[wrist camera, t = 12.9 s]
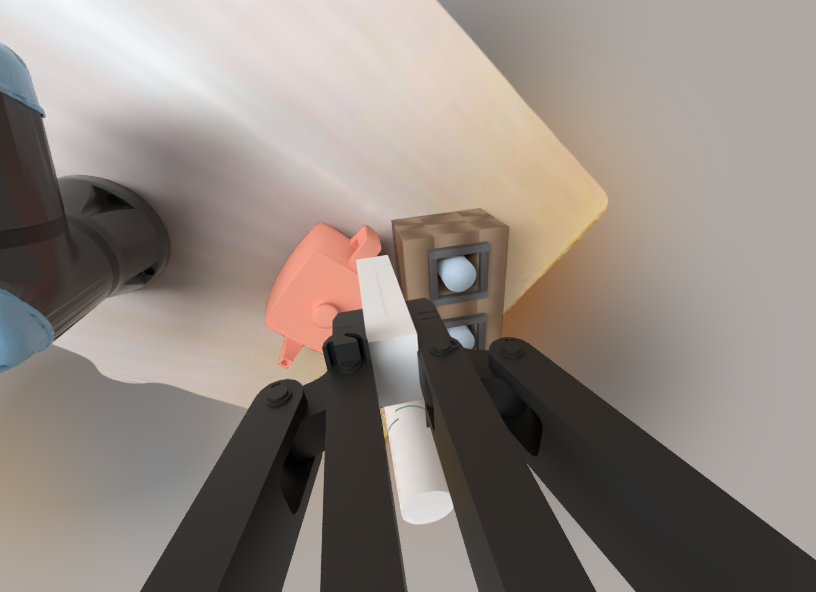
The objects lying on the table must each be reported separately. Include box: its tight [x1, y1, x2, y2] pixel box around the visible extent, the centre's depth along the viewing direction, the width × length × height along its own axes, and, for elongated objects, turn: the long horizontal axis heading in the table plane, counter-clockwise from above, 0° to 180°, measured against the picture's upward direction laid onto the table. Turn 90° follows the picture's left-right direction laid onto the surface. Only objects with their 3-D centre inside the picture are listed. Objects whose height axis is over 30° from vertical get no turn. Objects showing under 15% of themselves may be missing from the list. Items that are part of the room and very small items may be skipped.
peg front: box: [437, 255, 476, 292], centre depth 47 cm, size 4×4×9 cm
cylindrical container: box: [384, 395, 454, 524], centre depth 54 cm, size 7×7×25 cm
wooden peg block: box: [391, 208, 509, 350], centre depth 51 cm, size 14×22×11 cm, turn 5°
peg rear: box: [447, 325, 475, 349], centre depth 53 cm, size 4×4×9 cm
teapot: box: [265, 222, 382, 368], centre depth 46 cm, size 22×13×14 cm, turn 141°
